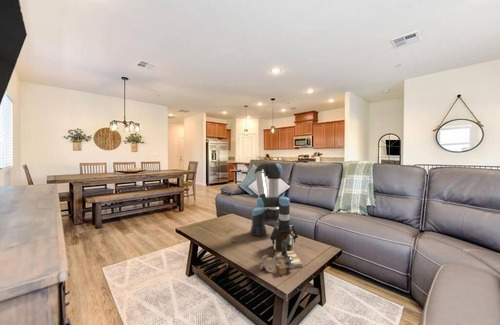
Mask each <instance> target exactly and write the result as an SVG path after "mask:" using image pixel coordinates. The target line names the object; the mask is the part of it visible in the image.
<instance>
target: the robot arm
mask: <svg viewBox="0 0 500 325" xmlns="http://www.w3.org/2000/svg"><path fill="white" fill-rule="evenodd" d="M282 176H283V168H282V165H281V164H280V163H277V162H269V163H268V162H267V163H260V164H259V165H258V166H256V169H255V170H254V178H255V179H256V180H255V181H256V187H257V195H258V197H257V198H256V207H255V208H253V209H252V211H251V222H252V223H251V227H250V232H249V234H250V235H251V236H253V237H257V238H258V237H259V238H260V237H264V236H266V235H267V234H268V231H267V228H266V223H279V226H274V225H273V230H272V232H271V234H270V236H269V239H270V241H271V242H272V245H274V247H273V250H275V249H276V240H275V239H276V238H277V236H278V235H279V234H280V233H281V232H287V231H288V232H289V233H290V235H291V236H292V237H293V238H292V249H294V248H295V243H296V239H298V238H299V236H298V234H297V232H296V230H295V226H294V224H291V225H290V226H289V224H290V208H291V207H290V204H291V202H290V197H287V196H282V195H279V180H280V179H281V177H282ZM266 178H267V179H268V188H267V180H266ZM278 228H279V230H278V231H277V233H276V234H275V232H276V230H277V229H278ZM289 228H291V229H292V233H291V232H290V231H289ZM274 234H275V235H274Z"/></svg>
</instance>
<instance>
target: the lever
mask: <svg viewBox="0 0 500 325" xmlns="http://www.w3.org/2000/svg"><path fill="white" fill-rule="evenodd" d="M282 255H283V256H284V258H285V260H286V265H288V266H289V268H288V269H295V268H294V264H293V258H292V257H291V256H288V255H287V239H282Z"/></svg>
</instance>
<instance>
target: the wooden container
mask: <svg viewBox="0 0 500 325" xmlns="http://www.w3.org/2000/svg"><path fill="white" fill-rule="evenodd" d="M290 225H292V224H291V223H289V226H290ZM274 226H279V222H274V225H273V227H274ZM278 230H279V228H278V229H277V230H276V232H275V234H276V233H277V231H278ZM289 231H290V232H291V233H292V234H293V231H292V229H291V228H289ZM275 234H274V235H275ZM292 238H293V237H292V236H291V235H290V233H289V232H288V231H287V232H281V233H280V234H279V235H278V236H277V238H276V239H275V240H276V249H274V250H275V251H276V252H282V239H287V251H293V247H292ZM272 245H273V244H272ZM273 248H274V245H273Z"/></svg>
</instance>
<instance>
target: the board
mask: <svg viewBox="0 0 500 325" xmlns="http://www.w3.org/2000/svg"><path fill="white" fill-rule="evenodd" d="M274 253H275V254H274V256H275V255H277V258H276V260H278V261H279V262H280V263H279V264H282V263H283V264H284V265H285V266H286V269H290V268H289V266H288V265H286V260H285V258H284V256H283V255H282V252H280V251H275V252H274ZM287 255H288V256H291V257H292V258H293V264H294V268H293V269H295V268H303V265H304V264H303V262H302V261H301V260H300V258H299V257H298V255H297V254H296V252H295V251H294V250H291V251H287Z"/></svg>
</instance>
